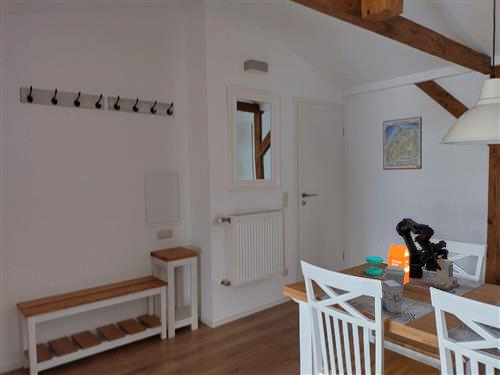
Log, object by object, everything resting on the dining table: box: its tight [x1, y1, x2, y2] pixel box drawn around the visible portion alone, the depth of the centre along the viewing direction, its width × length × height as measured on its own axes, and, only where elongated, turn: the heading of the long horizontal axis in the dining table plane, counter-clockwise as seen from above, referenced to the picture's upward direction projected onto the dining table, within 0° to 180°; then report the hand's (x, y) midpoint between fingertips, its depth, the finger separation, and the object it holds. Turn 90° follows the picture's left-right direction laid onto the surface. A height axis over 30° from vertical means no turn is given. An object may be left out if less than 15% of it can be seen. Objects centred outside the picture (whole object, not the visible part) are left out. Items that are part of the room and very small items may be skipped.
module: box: [436, 258, 454, 287], centre depth 193 cm, size 6×4×13 cm
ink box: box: [382, 280, 402, 314], centre depth 162 cm, size 9×5×12 cm, turn 5°
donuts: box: [364, 255, 384, 277], centre depth 219 cm, size 10×10×10 cm
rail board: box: [431, 277, 460, 292], centre depth 193 cm, size 14×7×4 cm, turn 125°
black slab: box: [422, 248, 443, 273], centre depth 225 cm, size 4×13×15 cm, turn 47°
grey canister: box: [383, 265, 406, 302], centre depth 175 cm, size 10×10×15 cm
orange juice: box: [387, 244, 410, 285], centre depth 204 cm, size 8×9×20 cm
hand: (445, 268), depth 193 cm, fingers open, 9 cm apart
